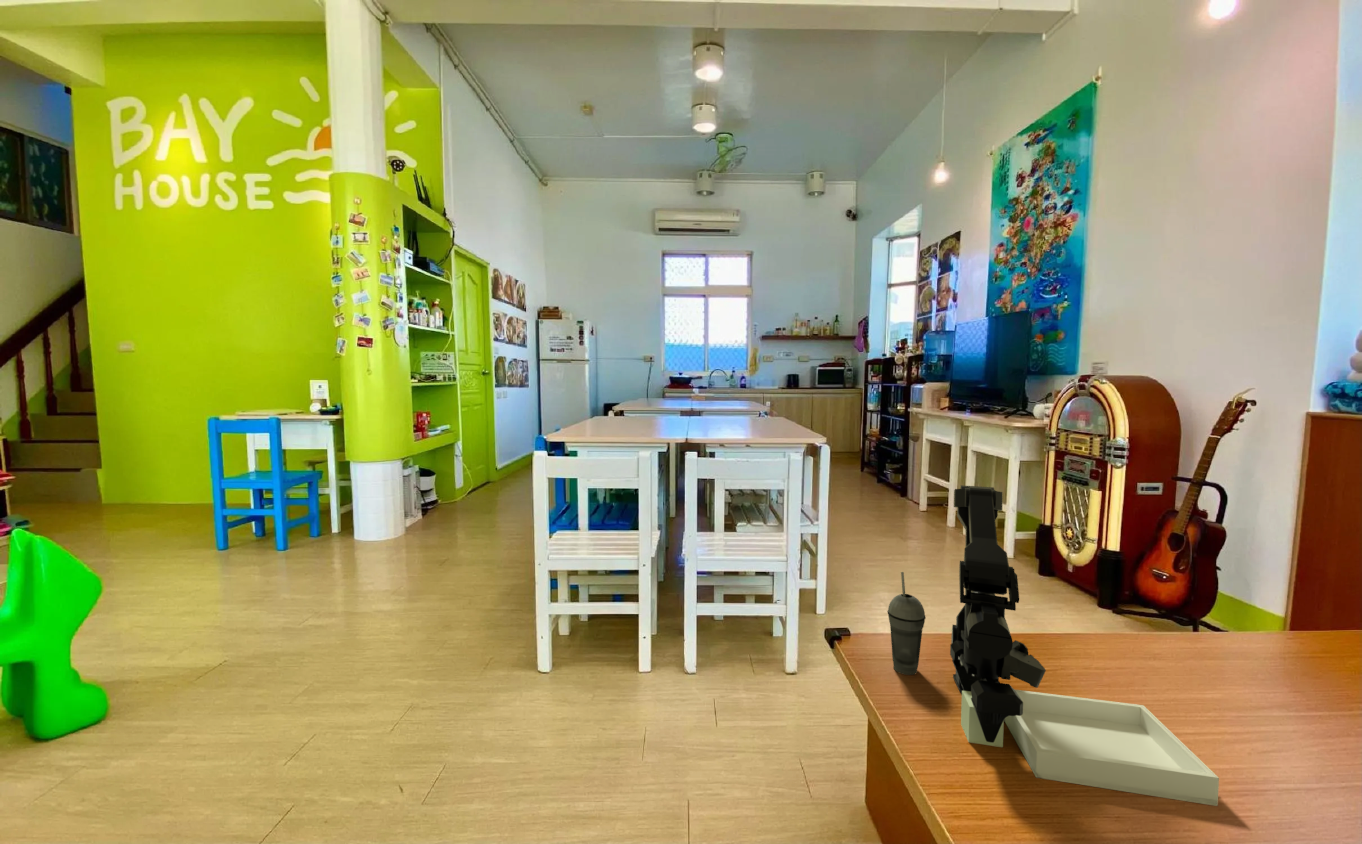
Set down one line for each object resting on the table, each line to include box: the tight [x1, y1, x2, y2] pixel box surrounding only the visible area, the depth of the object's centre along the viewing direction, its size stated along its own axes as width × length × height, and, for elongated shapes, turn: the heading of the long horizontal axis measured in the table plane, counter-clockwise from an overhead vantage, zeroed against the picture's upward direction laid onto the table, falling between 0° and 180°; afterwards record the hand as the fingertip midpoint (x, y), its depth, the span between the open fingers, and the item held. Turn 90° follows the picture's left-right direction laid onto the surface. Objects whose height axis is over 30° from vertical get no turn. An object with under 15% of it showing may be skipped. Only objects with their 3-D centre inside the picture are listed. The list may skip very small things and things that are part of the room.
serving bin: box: [1004, 688, 1220, 807], centre depth 85 cm, size 22×18×4 cm
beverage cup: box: [886, 571, 927, 676], centre depth 111 cm, size 7×7×20 cm
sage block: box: [960, 691, 1005, 748], centre depth 89 cm, size 5×5×6 cm
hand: (981, 724), depth 90 cm, fingers open, 9 cm apart
